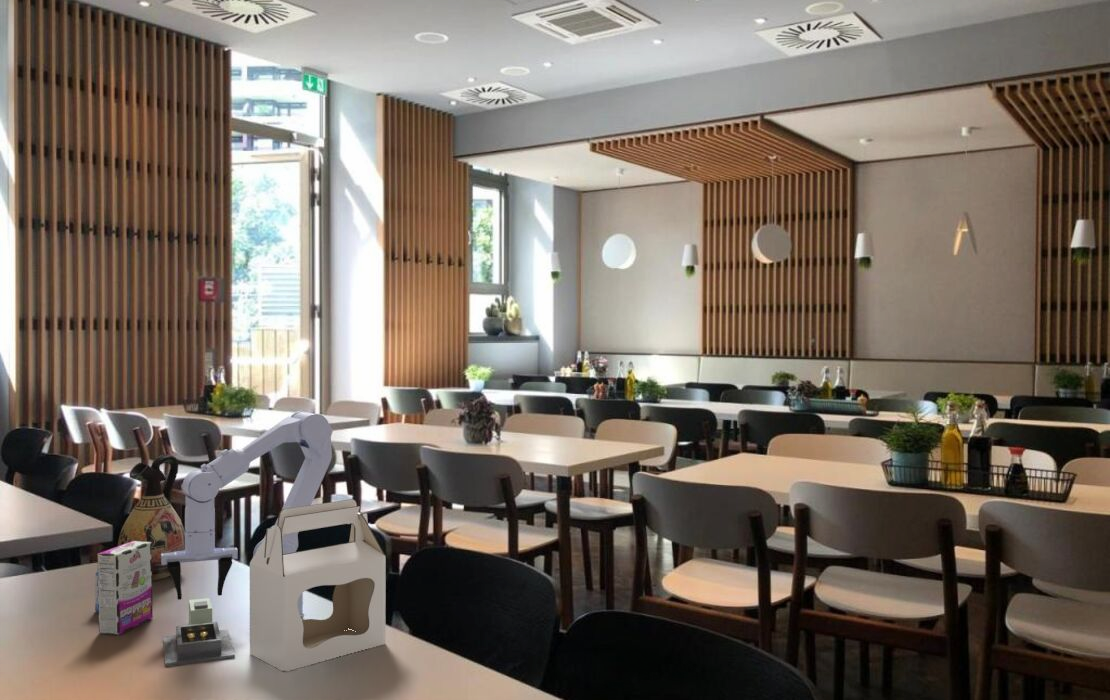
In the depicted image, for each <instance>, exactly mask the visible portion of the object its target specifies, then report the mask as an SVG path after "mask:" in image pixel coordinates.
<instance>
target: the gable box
mask: <svg viewBox="0 0 1110 700" xmlns="http://www.w3.org/2000/svg"><path fill="white" fill-rule="evenodd" d="M360 508H361V505H357V502H356V500H355V499H344V500H337V501H336V500H335V501H331V502H330V501H329V502H321V503H316V504H311V505H307V506H300V507H293V508H286V509H281V510H280V511H279V513H278V517H277V519H278V523H277V525H275V524H274V525H272V526H271V527H269V528H267V527H266V532H265V535H266V536H265V535H264V537H265V538H264V540H263V539H262V540H263V541H262V540H261V541H262V543H261V545H260V546H259V548H258V550H257V552H256V553H255V555H254V557H253V556H252V559H251V560H250V562H249V654H250V655H251V656H253V657H254V658H257V659H259V660H260V659H261V660H260V661H263V662H265V663H266V664H268V665H270V666H272V667H274V668H275V667H276V669H277V668H278V670H279V671H281V672H283V673H284V671H285V672H286V671H287V672H291V671H294V670H293V669H295V670H297V669H296V668H298V669H301V668H300V667H302V668H305V667H308V666H307V665H309V666H311V664H313V665H316V664H319V663H318V662H320V663H323V662H326V661H325V660H327V661H330V660H329V659H331V660H333V659H332V658H334V659H337V658H336V657H338V658H340V657H339V656H341V657H344V656H343V655H345V656H347V655H346V654H349V655H351V654H350V653H352V654H355V653H354V652H356V653H358V652H357V651H360V652H362V651H361V650H363V651H366V650H365V649H367V650H369V649H368V648H370V649H373V647H374V648H377V647H376V646H378V647H381V646H384V645H385V644H386V596H387V595H386V589H387V587H386V579H387V575H386V573H387V572H386V567H387V565H386V561H387V560H386V558H387V557H386V554H385V552H384V550H383V549H382V547H381V545H380V543H379V542H378V539H377V538H376V536H375V534H374V532H373V530H372V529H371V527H370V525H369V523H368V513H366V512H364V513H360V512H359V511H360ZM346 524H347V525H350V524H351V526H350V527H351V528H350V533H349V540H348V542H344V543H339V544H333V545H332V544H331V545H328V546H327V545H326V546H322V547H316V548H311V549H305V550H301V551H296V552H293V553H287V554H283V545H282V537H283V535H284V534H290V533H292V532H303V531H309V530H311V531H312V530H318V529H321V528H329V527H335V526H339V525H346ZM321 586H334V589H333V593H332V597H331V598H332V599H331V600H332V608H333V609H332V613H331V615H330V616H329V617H327V618H325V619H315V618H307V619H305V618H304V619H302V617H301V616H300V614H299V611H298V599H299V597H300V595H301V594H302V593H303V594H304V592H305V591H307V590H310V589H312V588H315V587H321ZM348 628H349V629H352V630H354V631H352V630H348ZM344 630H345V631H344ZM346 630H347V631H346ZM355 631H356V632H355ZM380 645H381V646H380ZM322 661H323V662H322ZM315 663H316V664H315ZM304 666H305V667H304ZM290 670H291V671H290ZM287 672H286V673H287Z"/></svg>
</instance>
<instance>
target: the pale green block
mask: <svg viewBox="0 0 1110 700" xmlns="http://www.w3.org/2000/svg"><path fill="white" fill-rule="evenodd" d="M211 602H212V601H211V599H210V597H206V598H196V599H188V625H194V624H203V623H212V622H213V605H212V603H211Z"/></svg>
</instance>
